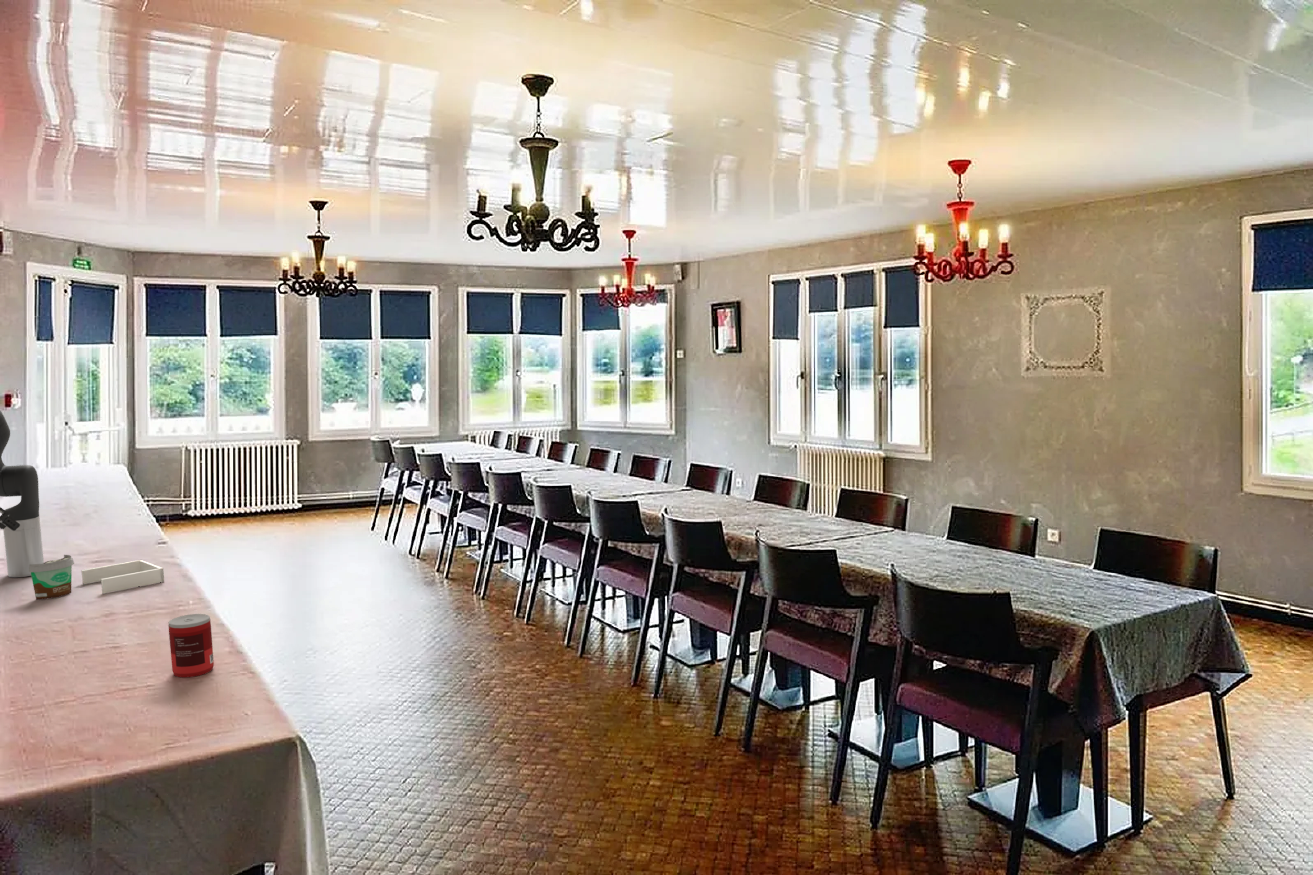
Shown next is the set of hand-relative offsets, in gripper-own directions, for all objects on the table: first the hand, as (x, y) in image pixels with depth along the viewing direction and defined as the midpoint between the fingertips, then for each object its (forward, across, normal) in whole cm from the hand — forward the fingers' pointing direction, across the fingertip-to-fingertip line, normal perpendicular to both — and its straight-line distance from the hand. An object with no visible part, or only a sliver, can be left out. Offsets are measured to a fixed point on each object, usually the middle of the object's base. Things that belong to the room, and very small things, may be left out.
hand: (11, 527), depth 242 cm
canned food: (+20, -94, +17) cm, 97 cm away
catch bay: (+32, -1, -5) cm, 32 cm away
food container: (+22, 0, +7) cm, 23 cm away
